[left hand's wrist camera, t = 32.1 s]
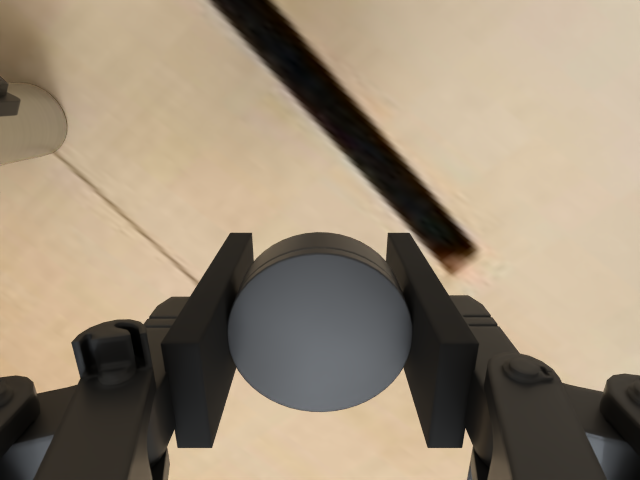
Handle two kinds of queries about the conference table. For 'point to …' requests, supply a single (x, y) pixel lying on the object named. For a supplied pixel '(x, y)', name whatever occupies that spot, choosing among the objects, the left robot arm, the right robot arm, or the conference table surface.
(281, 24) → the conference table surface
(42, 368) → the conference table surface
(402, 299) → the lid
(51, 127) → the jar
